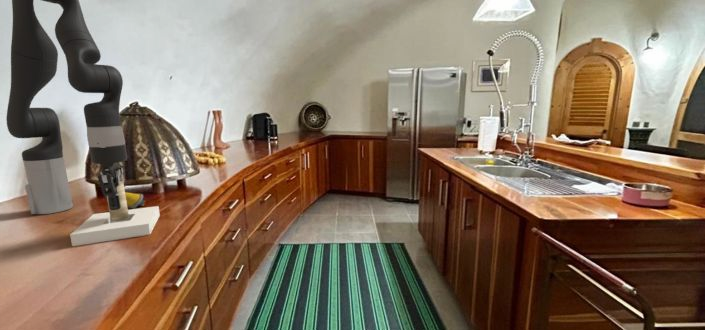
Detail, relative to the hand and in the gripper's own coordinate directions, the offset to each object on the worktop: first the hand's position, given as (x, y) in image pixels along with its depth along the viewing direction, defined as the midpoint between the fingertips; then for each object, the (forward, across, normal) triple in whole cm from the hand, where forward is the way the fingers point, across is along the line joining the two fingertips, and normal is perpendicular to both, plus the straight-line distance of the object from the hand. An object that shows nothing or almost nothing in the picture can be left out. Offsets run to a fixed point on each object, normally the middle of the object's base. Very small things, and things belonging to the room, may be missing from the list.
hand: (117, 206), depth 83 cm
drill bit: (+7, -20, -1) cm, 21 cm away
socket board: (+6, 0, 0) cm, 6 cm away
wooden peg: (+3, 0, 0) cm, 3 cm away
